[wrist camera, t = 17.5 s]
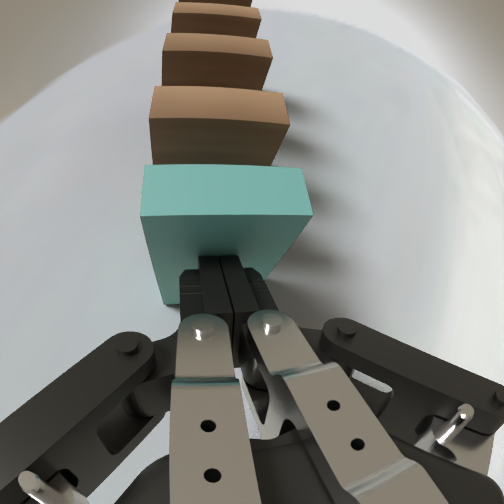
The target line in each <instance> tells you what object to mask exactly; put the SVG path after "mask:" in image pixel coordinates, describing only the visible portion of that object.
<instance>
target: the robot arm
mask: <svg viewBox="0 0 504 504" xmlns="http://www.w3.org/2000/svg"><path fill="white" fill-rule="evenodd" d="M179 290H180V317H181V322H180V324H179V327H178V329H177V331H176V332H175V333H173V334H172V335H171V336H169V337H167V338H164V339H161V340H157V341H154V342H152V341H151V340H150V339H149V338H148V337H147V336H146V335H144V334H142V333H138V332H122V333H118V334H116V335H114V336H112V337H111V338H109V339H108V340H107V341H105V342H104V343H103V344H101V345H100V346H99V347H97V348H96V349H95V350H93V351H92V352H91V353H89V354H88V355H87V356H85V357H84V358H83V359H81V360H80V361H79V362H78V363H76V364H75V365H74V366H72V367H71V368H70V369H68V370H67V371H66V372H65V373H63V374H62V375H61V376H59V377H58V378H57V379H55V380H54V381H53V382H52V383H50V384H49V385H48V386H46V387H45V388H44V389H43V390H41V391H40V392H39V393H37V394H36V395H35V396H34V397H32V398H31V399H30V400H28V401H27V402H26V403H25V404H23V405H22V406H21V407H20V408H18V409H17V410H16V411H14V412H13V413H12V414H11V415H9V416H8V417H7V418H6V419H4V420H3V421H2V422H1V423H0V504H89V502H88V500H87V497H88V496H89V495H90V494H91V493H92V492H93V491H94V490H95V489H96V488H97V487H98V486H99V485H100V484H101V483H102V482H103V481H104V480H105V479H106V478H107V477H108V476H109V475H110V474H111V473H112V472H113V471H114V470H115V469H116V468H117V467H118V466H119V465H120V464H121V463H122V461H123V460H124V459H125V458H126V457H127V456H128V455H129V454H130V453H131V452H132V451H133V450H134V449H135V448H136V447H137V446H138V445H139V444H140V443H141V441H142V440H143V439H144V438H145V437H146V436H147V435H148V434H149V433H150V432H151V431H152V430H153V429H154V427H155V426H156V425H157V424H158V423H159V422H160V421H161V420H162V419H163V417H164V415H165V413H166V412H167V411H170V446H169V454H168V455H166V456H164V457H162V458H160V459H158V460H156V461H155V462H153V463H152V464H150V465H149V466H148V467H146V468H145V469H144V470H143V471H142V472H141V473H140V474H139V475H138V476H137V477H136V479H135V480H134V481H133V482H132V483H131V485H130V486H129V487H128V488H127V489H126V490H125V492H124V493H123V494H122V495H121V496H120V497H119V499H118V500H117V501H116V502H115V503H114V504H504V496H503V493H502V491H501V489H500V487H499V486H498V485H497V483H496V482H495V481H494V480H493V479H491V478H490V477H488V476H487V474H488V469H489V464H490V459H491V453H492V447H493V440H494V434H495V432H496V431H497V430H498V429H499V428H500V427H501V426H502V425H503V424H504V386H503V385H501V384H498V383H496V382H494V381H491V380H489V379H486V378H484V377H482V376H479V375H477V374H474V373H472V372H470V371H467V370H465V369H463V368H460V367H458V366H456V365H453V364H451V363H449V362H446V361H444V360H442V359H439V358H437V357H435V356H432V355H430V354H428V353H425V352H423V351H421V350H419V349H416V348H414V347H412V346H409V345H407V344H405V343H403V342H400V341H398V340H396V339H394V338H391V337H389V336H387V335H385V334H382V333H380V332H378V331H376V330H373V329H371V328H369V327H367V326H365V325H362V324H360V323H358V322H356V321H353V320H351V319H347V318H333V319H330V320H328V321H327V322H326V323H325V324H324V327H323V330H314V329H305V328H300V327H297V325H296V324H295V322H294V320H293V319H292V318H291V317H290V316H288V315H287V314H285V313H283V312H280V311H279V310H278V308H277V306H276V304H275V302H274V300H273V298H272V296H271V294H270V292H269V290H268V288H267V286H266V284H265V282H264V280H263V278H262V276H261V274H260V273H259V272H257V271H256V270H255V269H254V268H252V267H247V268H243V266H242V264H241V261H240V259H239V256H238V255H223V256H198V269H186V270H184V271H183V272H182V274H181V275H180V277H179ZM239 367H241V370H242V388H243V391H244V393H245V396H246V399H247V401H248V404H249V407H250V409H251V412H252V414H253V417H254V420H255V422H256V425H257V427H258V430H259V434H260V439H249V435H248V429H247V423H246V417H245V411H244V405H243V399H242V393H241V387H240V382H239V379H236V378H235V372H234V368H239ZM355 369H356V370H358V371H360V372H362V373H364V374H366V375H368V376H370V377H372V378H374V379H376V380H379V381H381V382H383V383H385V384H387V385H389V386H390V387H391V388H392V391H391V392H387V393H385V392H381V391H379V390H377V389H375V388H373V387H370V386H368V385H366V384H364V383H362V382H360V381H358V380H356V379H354V378H352V374H353V372H354V370H355Z"/></svg>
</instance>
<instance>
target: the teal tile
mask: <svg viewBox="0 0 504 504" xmlns="http://www.w3.org/2000/svg"><path fill="white" fill-rule="evenodd" d="M312 217H313V211H312V207H311V203H310V199H309V195H308V191H307V187H306V184H305V180H304V176H303V172H302V168H289V167H272V166H252V165H217V164H171V165H145V167H144V177H143V187H142V198H141V211H140V218H141V222H142V226H143V230H144V235H145V239H146V243H147V246H148V250H149V254H150V258H151V262H152V265H153V269H154V272H155V276H156V279H157V283H158V286H159V290H160V293H161V296H162V300H163V303H164V305H166V304H180V290H179V277H180V275H181V274H182V272H183V271H184V270H186V269H198V256H223V255H238V256H239V259H240V261H241V264H242V266H243V268H247V267H252V268H254V269H255V270H256V271H257V272H259V273H260V274H261V276H262V278H263V280H265V279H266V277H267V276H268V275H269V273H270V272H271V271H272V270H273V268H274V267H275V266H276V264H277V263H278V262H279V260H280V259H281V258H282V256H283V255H284V254H285V253H286V251H287V250H288V249H289V247H290V246H291V245H292V243H293V242H294V241H295V239H296V238H297V237H298V235H299V234H300V233H301V231H302V230H303V229H304V227H305V226H306V225H307V223H308V222H309V221H310V219H311V218H312Z"/></svg>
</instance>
